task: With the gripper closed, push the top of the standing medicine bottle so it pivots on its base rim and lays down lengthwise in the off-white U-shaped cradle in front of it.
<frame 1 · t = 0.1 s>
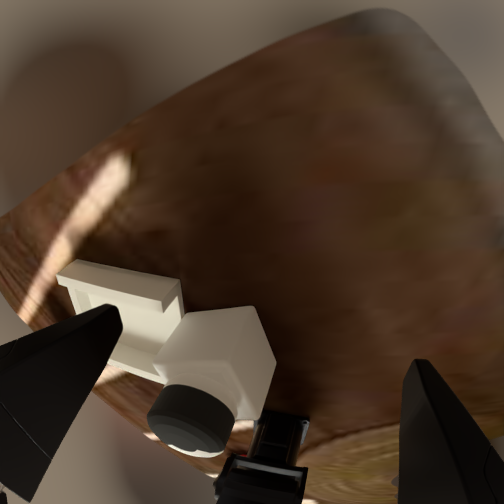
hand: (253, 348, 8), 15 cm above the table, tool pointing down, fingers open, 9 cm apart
cradle: (132, 314, 31), on the table
medicine bottle: (232, 336, 29), on the table
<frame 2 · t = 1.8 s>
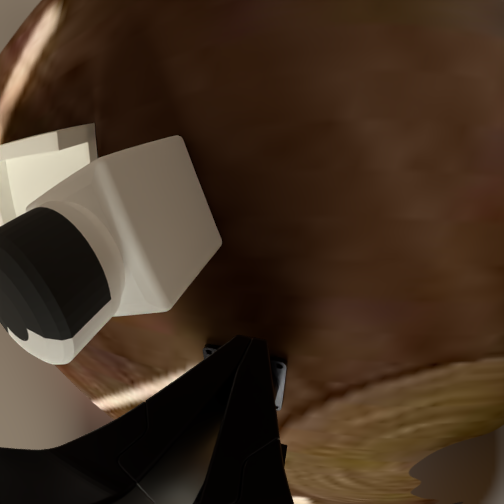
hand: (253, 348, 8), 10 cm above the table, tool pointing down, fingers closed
cradle: (49, 200, 22), on the table
medicine bottle: (159, 204, 19), on the table
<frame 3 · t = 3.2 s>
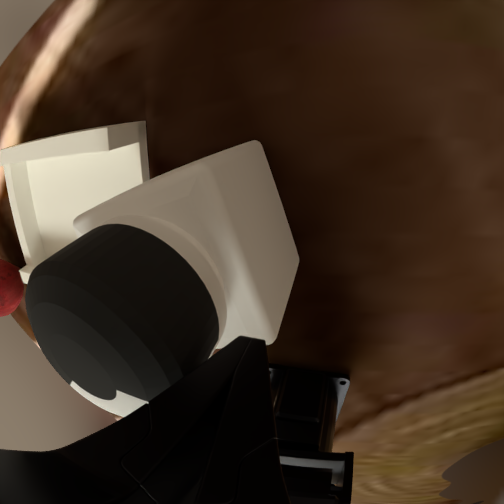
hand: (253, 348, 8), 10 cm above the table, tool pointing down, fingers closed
red rounded lump: (22, 270, 27), on the table
cradle: (81, 207, 20), on the table
medicine bottle: (224, 216, 18), on the table, touching gripper
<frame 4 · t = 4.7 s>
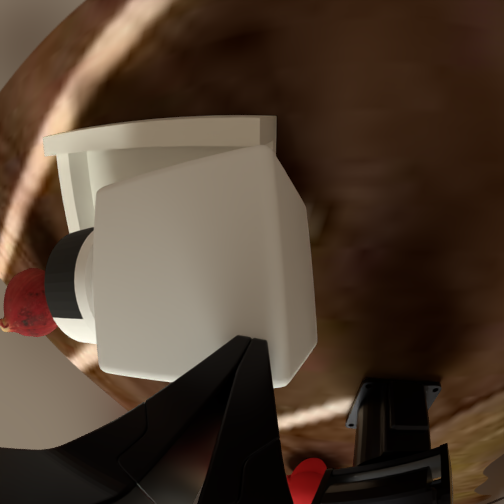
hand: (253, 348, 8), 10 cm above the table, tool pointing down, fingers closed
cap: (315, 468, 29), on the table
red rounded lump: (62, 280, 25), on the table
cradle: (166, 212, 18), on the table
medicine bottle: (307, 268, 11), point 5 cm above the table, touching cradle, gripper
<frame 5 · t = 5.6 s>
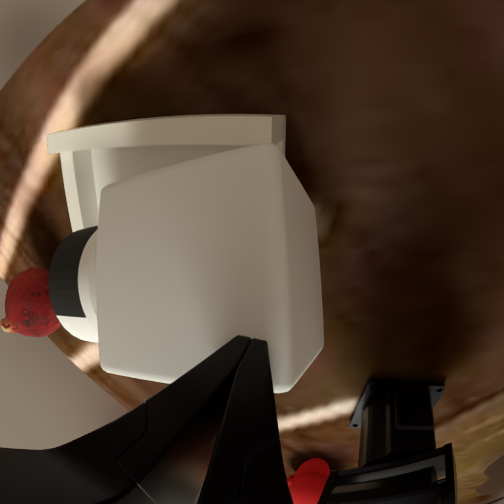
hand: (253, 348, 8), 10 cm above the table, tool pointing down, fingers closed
cap: (317, 468, 29), on the table
red rounded lump: (64, 279, 25), on the table
cradle: (172, 211, 18), on the table
medicine bottle: (314, 270, 11), point 6 cm above the table, touching cradle, gripper
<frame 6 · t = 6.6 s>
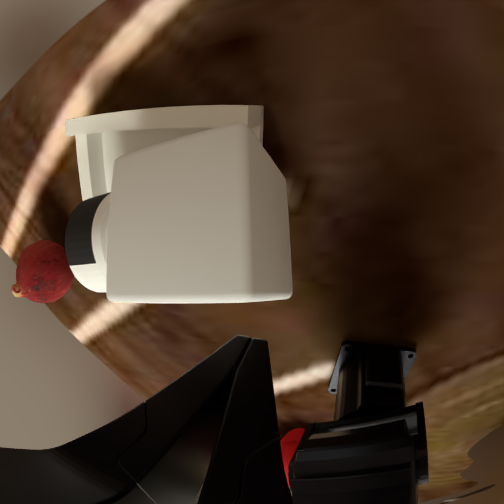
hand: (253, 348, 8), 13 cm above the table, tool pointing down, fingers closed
cap: (301, 440, 32), on the table
red rounded lump: (71, 252, 28), on the table
cradle: (169, 186, 21), on the table
medicine bottle: (278, 221, 14), point 6 cm above the table, touching cradle
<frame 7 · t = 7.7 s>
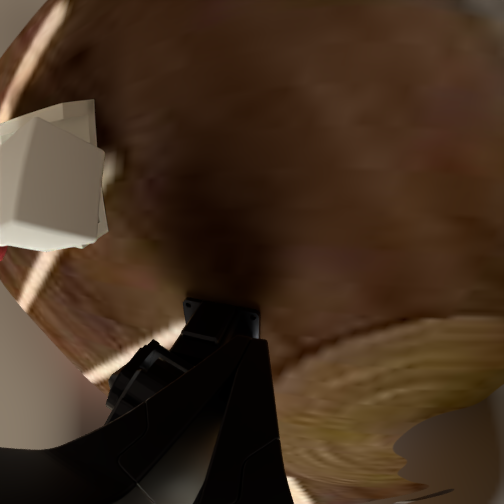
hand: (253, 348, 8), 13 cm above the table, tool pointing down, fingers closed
red rounded lump: (8, 231, 30), on the table
cradle: (51, 169, 24), on the table
medicine bottle: (67, 179, 17), point 6 cm above the table, touching cradle
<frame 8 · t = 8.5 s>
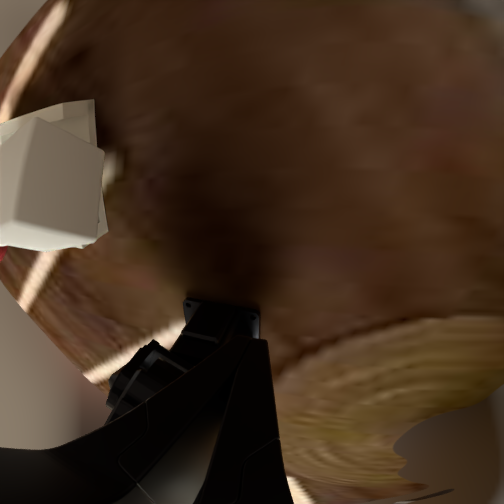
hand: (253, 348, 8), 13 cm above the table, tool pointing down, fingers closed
red rounded lump: (8, 231, 30), on the table
cradle: (51, 169, 24), on the table
medicine bottle: (66, 179, 17), point 6 cm above the table, touching cradle
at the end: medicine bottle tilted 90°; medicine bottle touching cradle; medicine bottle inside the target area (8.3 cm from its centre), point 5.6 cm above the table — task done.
